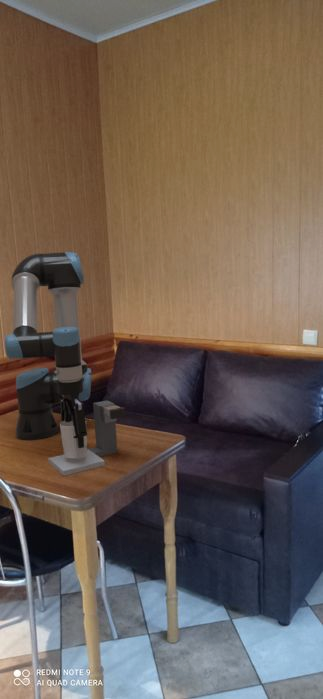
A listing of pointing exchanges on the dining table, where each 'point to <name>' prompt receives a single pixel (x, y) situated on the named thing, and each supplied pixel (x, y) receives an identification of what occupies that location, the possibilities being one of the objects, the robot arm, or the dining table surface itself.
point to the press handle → (112, 413)
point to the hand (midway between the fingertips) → (75, 453)
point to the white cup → (69, 439)
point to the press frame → (104, 446)
